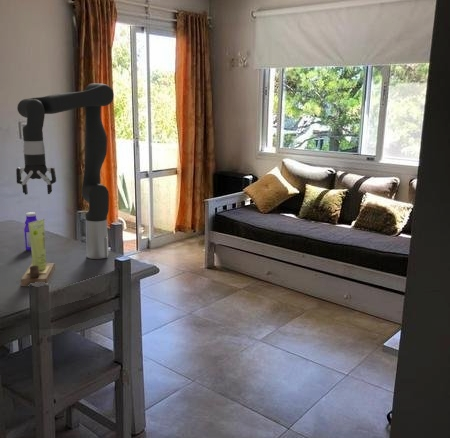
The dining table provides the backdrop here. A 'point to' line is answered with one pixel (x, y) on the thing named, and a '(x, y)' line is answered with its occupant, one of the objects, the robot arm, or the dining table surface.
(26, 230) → the bottle
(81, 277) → the dining table surface
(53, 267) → the brown flat panelled slab
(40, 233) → the tube
